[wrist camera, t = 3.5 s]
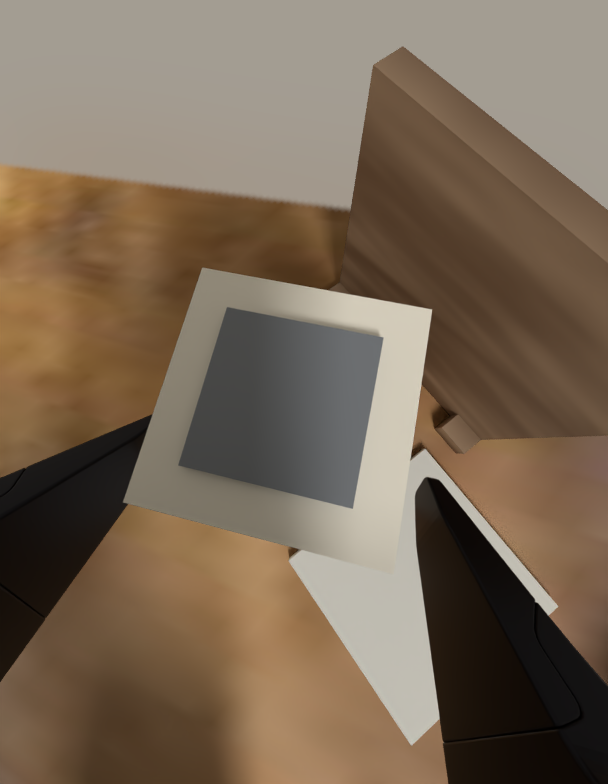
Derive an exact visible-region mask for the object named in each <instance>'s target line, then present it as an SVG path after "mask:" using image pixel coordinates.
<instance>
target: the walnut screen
mask: <svg viewBox="0 0 608 784" xmlns="http://www.w3.org/2000/svg"><path fill="white" fill-rule="evenodd" d="M328 291H334V292H339V293H345V294H350V295H355V296H361V297H366V298H372V299H377V300H383V301H388V302H394V303H399V304H405V305H410V306H416V307H421V308H427V309H432V315H431V322H430V329H429V336H428V342H427V349H426V356H425V363H424V370H423V377H422V383H421V384H422V385H423V386H424V387H425V388H426V389H427V390H428V392H429V393H430V394H431V395H432V396H433V397H434V398H435V399H436V401H437V402H438V403H439V404H440V405H441V406H442V407H443V408H444V410H445V411H446V412H447V413H448V414H449V415H450V417H448V418H447V419H446V420H445V421H443V422H442V423H441V424H440V425H438V426H437V427H436V428H435V430H436V431H437V432H438V433H439V434H440V436H441V437H442V438H443V439H444V440H445V441H446V443H447V444H448V445H449V446H450V447H451V448H452V449H453V451H454V452H455V453H461V454H465V453H466V452H467V451H468V450H469V449H471V448H472V447H473V446H474V445H475V444H476V443H478V442H479V441H480V440H488V439H518V438H548V437H578V436H607V435H608V210H607V209H605V208H604V207H603V206H602V205H601V204H599V203H598V202H597V201H596V200H594V199H593V198H592V197H591V196H589V195H588V194H587V193H586V192H584V191H583V190H582V189H581V188H579V187H578V186H577V185H576V184H574V183H573V182H572V181H571V180H569V179H568V178H567V177H566V176H564V175H563V174H562V173H561V172H559V171H558V170H557V169H556V168H554V167H553V166H552V165H550V164H549V163H548V162H547V161H546V160H544V159H543V158H542V157H541V156H539V155H538V154H537V153H536V152H534V151H533V150H532V149H530V148H529V147H528V146H527V145H526V144H524V143H523V142H522V141H521V140H519V139H518V138H517V137H516V136H514V135H513V134H512V133H511V132H509V131H508V130H507V129H505V128H504V127H503V126H502V125H501V124H499V123H498V122H497V121H496V120H494V119H493V118H492V117H491V116H489V115H488V114H487V113H486V112H484V111H483V110H482V109H481V108H479V107H478V106H477V105H476V104H474V103H473V102H472V101H471V100H469V99H468V98H467V97H466V96H464V95H463V94H462V93H461V92H459V91H458V90H457V89H456V88H454V87H453V86H452V85H451V84H449V83H448V82H447V81H446V80H444V79H443V78H442V77H441V76H439V75H438V74H437V73H436V72H434V71H433V70H432V69H430V68H429V67H428V66H427V65H426V64H424V63H423V62H422V61H421V60H419V59H418V58H417V57H416V56H414V55H413V54H412V53H410V52H409V51H408V50H407V49H406V48H404V47H401V48H399V49H398V50H396V51H395V52H393V53H391V54H390V55H388V56H387V57H385V58H384V59H382V60H380V61H379V62H377V63H376V64H374V65H373V70H372V76H371V83H370V89H369V96H368V102H367V109H366V115H365V122H364V128H363V134H362V141H361V147H360V154H359V160H358V167H357V173H356V179H355V186H354V192H353V199H352V205H351V212H350V218H349V225H348V231H347V238H346V244H345V250H344V257H343V263H342V270H341V276H340V282H339V283H338V284H336V285H335V286H333V287H332V288H331V289H329V290H328Z"/></svg>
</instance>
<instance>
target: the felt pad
mask: <svg viewBox="0 0 608 784" xmlns="http://www.w3.org/2000/svg"><path fill="white" fill-rule="evenodd" d="M425 477H431V478H435V479H438V480H440V481H441V482H442V483H443V485H444V486H445V487H446V488H447V490H448V491H449V492H450V493H451V495H452V496H453V497H454V498H455V500H456V501H457V502H458V503H459V505H460V506H461V507H462V508H463V510H464V511H465V512H466V513H467V515H468V516H469V517H470V518H471V520H472V521H473V522H474V523H475V525H476V526H477V527H478V528H479V530H480V531H481V532H482V533H483V535H484V536H485V537H486V538H487V540H488V541H489V542H490V543H491V545H492V546H493V547H494V548H495V550H496V551H497V552H498V553H499V555H500V556H501V557H502V558H503V560H504V561H505V562H506V563H507V565H508V566H509V567H510V568H511V570H512V571H513V572H514V573H515V575H516V576H517V577H518V578H519V580H520V581H521V582H522V583H523V585H524V586H525V587H526V588H527V590H528V591H529V592H530V593H531V595H532V596H533V597H534V598H535V602H537V603H539V605H540V606H541V607H542V608H543V610H544V611H545V612H546V613H547V615H548V616H549V615H550V614H551V613H552V612H553V611H554V610H555V609H556V608H557V607H558V606H557V604H556V603H555V602H554V601H553V600H552V599H551V597H550V596H549V595H548V594H547V593H546V591H545V590H544V589H543V588H542V587H541V586H540V584H539V583H538V582H537V581H536V580H535V578H534V577H533V576H532V575H531V574H530V572H529V571H528V570H527V569H526V568H525V567H524V565H523V564H522V563H521V562H520V561H519V559H518V558H517V557H516V556H515V555H514V553H513V552H512V551H511V550H510V549H509V548H508V546H507V545H506V544H505V543H504V542H503V540H502V539H501V538H500V537H499V536H498V534H497V533H496V532H495V531H494V530H493V529H492V527H491V526H490V525H489V524H488V523H487V521H486V520H485V519H484V518H483V517H482V516H481V514H480V513H479V512H478V511H477V510H476V508H475V507H474V506H473V505H472V504H471V502H470V501H469V500H468V499H467V498H466V497H465V495H464V494H463V493H462V492H461V491H460V489H459V488H458V487H457V486H456V485H455V483H454V482H453V481H452V480H451V479H450V478H449V476H448V475H447V474H446V473H445V472H444V470H443V469H442V468H441V467H440V466H439V464H438V463H437V462H436V461H435V460H434V459H433V457H432V456H431V455H430V454H429V453H428V451H427V450H426V449H422V450H420V451H419V452H418V453H417V454H416V455H414V456H413V457H412V458H411V459H410V466H409V473H408V479H407V486H406V493H405V500H404V507H403V514H402V520H401V527H400V534H399V541H398V548H397V555H396V562H395V568H394V574H390V573H387V572H383V571H379V570H375V569H372V568H368V567H364V566H360V565H357V564H353V563H349V562H345V561H342V560H338V559H334V558H330V557H327V556H323V555H319V554H315V553H311V552H308V551H304V550H300V549H299V550H298V551H297V552H296V553H294V554H293V555H292V556H291V557H290V558H289V560H288V561H289V562H290V564H291V565H292V567H293V568H294V570H295V571H296V573H297V574H298V576H299V577H300V579H301V580H302V582H303V583H304V585H305V586H306V588H307V589H308V591H309V592H310V594H311V595H312V597H313V598H314V600H315V601H316V603H317V604H318V606H319V607H320V609H321V610H322V612H323V613H324V615H325V616H326V618H327V619H328V621H329V622H330V624H331V625H332V627H333V628H334V630H335V631H336V633H337V635H338V636H339V638H340V639H341V641H342V642H343V644H344V645H345V647H346V648H347V650H348V651H349V653H350V654H351V656H352V657H353V659H354V660H355V662H356V663H357V665H358V666H359V668H360V669H361V671H362V672H363V674H364V675H365V677H366V678H367V680H368V681H369V683H370V684H371V686H372V687H373V689H374V690H375V692H376V693H377V695H378V696H379V698H380V699H381V701H382V702H383V704H384V705H385V707H386V708H387V710H388V711H389V713H390V714H391V716H392V717H393V719H394V720H395V722H396V723H397V725H398V726H399V728H400V729H401V731H402V732H403V734H404V735H405V737H406V738H407V740H408V741H409V743H410V744H411V745H412V744H414V743H415V742H416V741H417V740H418V739H419V738H420V737H421V736H422V735H423V734H424V733H425V732H426V731H427V730H428V729H429V728H430V727H431V726H433V725H434V724H435V723H436V722H437V721H438V720H439V719H440V717H439V710H438V703H437V695H436V688H435V681H434V673H433V666H432V659H431V651H430V644H429V637H428V630H427V622H426V615H425V608H424V600H423V593H422V586H421V578H420V571H419V564H418V557H417V548H416V530H415V493H416V491H417V489H418V487H419V486H420V484H421V482H422V481H423V479H424V478H425Z"/></svg>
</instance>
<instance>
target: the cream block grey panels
mask: <svg viewBox="0 0 608 784" xmlns="http://www.w3.org/2000/svg"><path fill="white" fill-rule="evenodd" d="M431 315H432V309H427V308H421V307H416V306H410V305H405V304H399V303H394V302H388V301H383V300H377V299H372V298H366V297H361V296H355V295H350V294H345V293H339V292H334V291H328V290H323V289H317V288H312V287H306V286H301V285H295V284H290V283H284V282H279V281H273V280H268V279H262V278H257V277H251V276H246V275H241V274H235V273H230V272H224V271H219V270H213V269H208V268H202V270H201V273H200V276H199V279H198V282H197V285H196V288H195V291H194V294H193V297H192V300H191V303H190V306H189V309H188V312H187V314H186V317H185V320H184V323H183V326H182V329H181V332H180V335H179V338H178V341H177V344H176V347H175V350H174V353H173V356H172V359H171V362H170V365H169V368H168V371H167V374H166V377H165V379H164V382H163V385H162V388H161V391H160V394H159V397H158V400H157V403H156V406H155V409H154V412H153V415H152V418H151V421H150V424H149V427H148V430H147V433H146V436H145V439H144V442H143V444H142V447H141V450H140V453H139V456H138V459H137V462H136V465H135V468H134V471H133V474H132V477H131V480H130V483H129V486H128V489H127V492H126V495H125V498H124V501H123V503H127V504H131V505H135V506H138V507H142V508H146V509H150V510H154V511H157V512H161V513H165V514H169V515H172V516H176V517H180V518H184V519H187V520H191V521H195V522H199V523H202V524H206V525H210V526H214V527H217V528H221V529H225V530H229V531H232V532H236V533H240V534H244V535H248V536H251V537H255V538H259V539H263V540H266V541H270V542H274V543H278V544H281V545H285V546H289V547H293V548H296V549H300V550H304V551H308V552H311V553H315V554H319V555H323V556H327V557H330V558H334V559H338V560H342V561H345V562H349V563H353V564H357V565H360V566H364V567H368V568H372V569H375V570H379V571H383V572H387V573H390V574H394V568H395V562H396V555H397V548H398V541H399V534H400V527H401V520H402V514H403V507H404V500H405V493H406V486H407V479H408V473H409V466H410V459H411V452H412V445H413V438H414V431H415V425H416V418H417V411H418V404H419V397H420V390H421V383H422V377H423V370H424V363H425V356H426V349H427V342H428V336H429V329H430V322H431Z"/></svg>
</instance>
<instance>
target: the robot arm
mask: <svg viewBox="0 0 608 784" xmlns="http://www.w3.org/2000/svg"><path fill="white" fill-rule="evenodd" d="M152 415H153V414H152ZM152 415H150V416H147V417H145V418H142V419H140V420H138V421H135V422H133V423H130V424H128V425H126V426H123V427H121V428H119V429H116V430H114V431H111V432H109V433H107V434H104V435H102V436H99V437H97V438H95V439H92V440H90V441H88V442H85V443H83V444H80V445H78V446H76V447H73V448H71V449H69V450H66V451H64V452H61V453H59V454H57V455H54V456H52V457H49V458H47V459H45V460H42V461H40V462H37V463H35V464H33V465H30V466H28V467H27V468H23V469H21V470H18V471H16V472H14V473H11V474H9V475H6V476H4V477H1V478H0V682H1V680H2V679H3V677H4V676H5V675H6V673H7V672H8V670H9V669H10V668H11V666H12V665H13V664H14V662H15V661H16V659H17V658H18V657H19V655H20V654H21V652H22V651H23V650H24V648H25V647H26V645H27V644H28V643H29V641H30V640H31V639H32V637H33V636H34V634H35V633H36V632H37V630H38V629H39V627H40V626H41V625H42V623H43V622H44V620H45V618H46V617H47V616H48V615H49V613H50V612H51V610H52V609H53V608H54V606H55V605H56V603H57V602H58V601H59V599H60V598H61V596H62V595H63V594H64V592H65V591H66V590H67V588H68V587H69V585H70V584H71V583H72V581H73V580H74V578H75V577H76V576H77V574H78V573H79V571H80V570H81V569H82V567H83V566H84V565H85V563H86V562H87V560H88V559H89V558H90V556H91V555H92V553H93V552H94V551H95V549H96V548H97V546H98V545H99V544H100V542H101V541H102V540H103V538H104V537H105V535H106V534H107V533H108V531H109V530H110V528H111V527H112V526H113V524H114V523H115V521H116V520H117V519H118V517H119V516H120V515H121V513H122V512H123V510H124V509H125V508H126V506H127V505H128V504H127V503H123V501H124V498H125V495H126V492H127V489H128V486H129V483H130V480H131V477H132V474H133V471H134V468H135V465H136V462H137V459H138V456H139V453H140V450H141V447H142V444H143V442H144V439H145V436H146V433H147V430H148V427H149V424H150V421H151V418H152ZM415 530H416V548H417V557H418V564H419V571H420V578H421V586H422V593H423V600H424V608H425V615H426V622H427V630H428V637H429V644H430V651H431V659H432V666H433V673H434V681H435V688H436V695H437V703H438V710H439V717H440V724H441V732H442V739H443V742H444V743H443V748H444V755H445V762H446V770H447V777H448V784H608V685H607V684H606V683H605V682H604V681H603V680H602V679H601V677H600V676H599V675H598V674H597V673H596V672H595V671H594V669H593V668H592V667H591V666H590V665H589V664H588V662H587V661H586V660H585V659H584V658H583V657H582V656H581V654H580V653H579V652H578V651H577V650H576V649H575V647H574V646H573V645H572V644H571V643H570V641H569V640H568V639H567V638H566V637H565V635H564V634H563V633H562V632H561V630H560V629H559V628H558V627H557V626H556V624H555V623H554V622H553V621H552V620H551V618H550V617H549V616H548V615H547V613H546V612H545V611H544V610H543V608H542V607H541V606H540V605H539V603H537V602H535V598H534V597H533V596H532V595H531V593H530V592H529V591H528V590H527V588H526V587H525V586H524V585H523V583H522V582H521V581H520V580H519V578H518V577H517V576H516V575H515V573H514V572H513V571H512V570H511V568H510V567H509V566H508V565H507V563H506V562H505V561H504V560H503V558H502V557H501V556H500V555H499V553H498V552H497V551H496V550H495V548H494V547H493V546H492V545H491V543H490V542H489V541H488V540H487V538H486V537H485V536H484V535H483V533H482V532H481V531H480V530H479V528H478V527H477V526H476V525H475V523H474V522H473V521H472V520H471V518H470V517H469V516H468V515H467V513H466V512H465V511H464V510H463V508H462V507H461V506H460V505H459V503H458V502H457V501H456V500H455V498H454V497H453V496H452V495H451V493H450V492H449V491H448V490H447V488H446V487H445V486H444V485H443V483H442V482H441V481H440V480H438V479H435V478H431V477H425V478H424V479H423V481H422V482H421V484H420V486H419V487H418V489H417V491H416V493H415Z"/></svg>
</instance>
